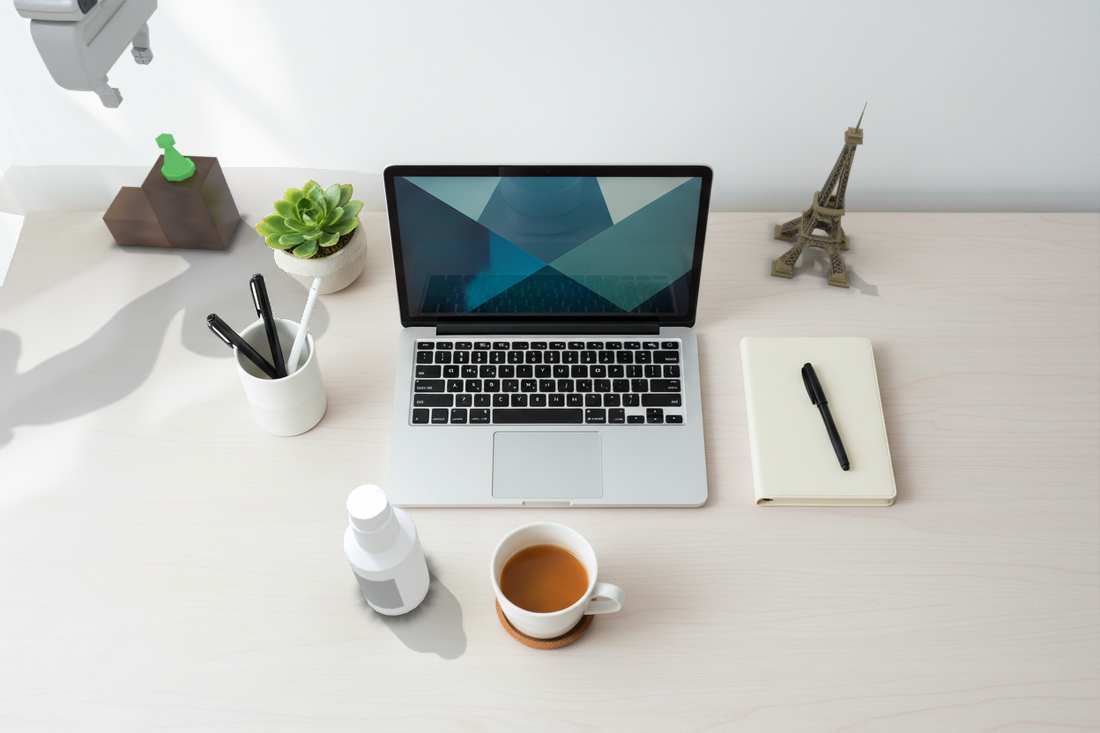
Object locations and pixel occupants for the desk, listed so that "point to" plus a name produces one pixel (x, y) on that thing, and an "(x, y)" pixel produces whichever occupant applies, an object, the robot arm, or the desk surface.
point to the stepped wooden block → (176, 209)
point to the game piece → (174, 160)
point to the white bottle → (384, 552)
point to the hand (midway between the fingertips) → (130, 82)
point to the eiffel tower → (823, 219)
